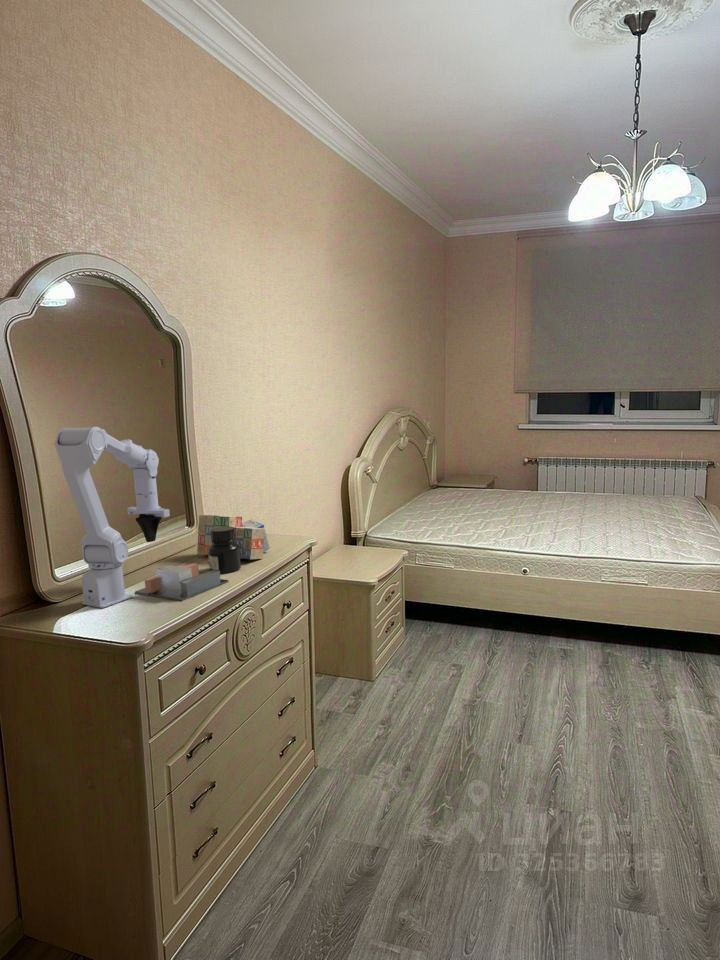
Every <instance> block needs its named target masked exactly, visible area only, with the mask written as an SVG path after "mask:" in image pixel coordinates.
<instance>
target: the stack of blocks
mask: <svg viewBox="0 0 720 960" xmlns="http://www.w3.org/2000/svg"><path fill="white" fill-rule="evenodd" d="M242 523H243V517H242V516H234V515H219V514H199V515H198V524H197V525H198V527H197V529H198V530H197V550H196V551H197V552H196V553H197V555H202V556H203V555H205V556H209V555H208V549H209V547H210V546H211V545H212V544H213V543H212V542H211V534H210V529H212V528H215V527H222V526H232V527H234V530H235V541H234V542H235V543H236V544H238V545H239V547H240V559H242V560H243V559H244V560H260V559H264V552H263V548H264V534H265V531H266V528H255V527H241V526H242Z"/></svg>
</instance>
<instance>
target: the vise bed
mask: <svg viewBox="0 0 720 960" xmlns="http://www.w3.org/2000/svg"><path fill="white" fill-rule="evenodd" d="M226 583H229V580H228V579H223V578H222V579H221V573H220V570H212V571H210V570H209V571H206V572H204V573H202V574H199V575H198V576H195V577H193V578H191V579H188V580H185V581H183V582H181V584H180V591H181V594H182V595H181V596H180V595H173V594H167V593H161V592H158V591H155V592H153V593H148V592H146V589H145V587H144V588H140V589H139V590H135V591H134V593H135V594H138V595H142V596H149V597H155V598H161V599H166V600H172V601H179V602H184V601H185V600H188V599H191V598H194V597H196V596H198V595H200V594H203V593H206V592H208V591H210V590H213V589H215V588H218V587H220V586H222V585H225V584H226Z"/></svg>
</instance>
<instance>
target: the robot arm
mask: <svg viewBox="0 0 720 960" xmlns="http://www.w3.org/2000/svg"><path fill="white" fill-rule="evenodd" d="M54 447H55V449H56V450H55V451H56V453H57V456H58V458H59V460H60V461H59V462H60V463H61V469H62V474H63V476H64V478H65V481H66V483H67V486H68V488H69V491H70V494H71V496H72V498H73V501H74V504H75V506H76V509H77V513H78V514H79V518H80V519H81V523H82V525H83V528H84V530H85V534H84V535H83V536H82V538H81V540H80V541H79V543H80V547H81V556H82V559H83V561H84V562H85V563H86V564H88V568H90V569H89V570H88V571H86V572H84V573H83V574H82V577H81V587H82V597H83V601H82V602H81V604H82V605H84V606H90V607H94V608H100V609H105V608H106V607H110V606H112V605H115V604H118V603H120V602H123V601H125V600H128V599H132V598H133V597H134V595H133V594H130V593H126V589H125V580H124V579H125V578H124V570H123V565H125V562H126V560H127V559H128V556H129V546H128V544H127V542H126V541H125V539H124V538H123V537H122V535H121V533H120V532H119V531H117V530H116V529H114V528H112V526H110V525H109V521H108V518H107V517H106V513H105V510H104V507H103V504H102V502H101V499H100V496H99V494H98V491H97V489H96V486H95V483H94V480H93V478H92V475H91V472H90V470H91V468H92V467H93V466H95V465H96V464H97V462H98V460H99V458H100V456H101V455H102V453H103V451H106V452H108V453H110V454H112V455H113V457H114V458H115V459H114V460H116V461H119V462H121V463H123V464H124V465H127V467H128V469H129V470H130V471H132V474H133V481H134V482H133V483H134V492H135V503H136V506H130V507H127V508H126V509H127V515H128V516H129V515H130V516H131V515H135V516H136V515H137V516H138V517H136V518H135V522H136V523H137V525H139V527H140V529H141V531H142V533H143V536H144V539H145V541H146V542H147V543H151V542H155V541H156V538H157V531H158V529H159V528H158V527H159V525H160V523H161V520H162V518H163V519H164V518H169V517H171V516H170V515H171V514H170V509H169V508H163V507H161V506H160V505H159V499H158V488H157V478H156V477H157V475H158V466H159V462H160V461H159V460H160V459H159V457H158V454H157V453H156V451H154V450H153V449H151V448H150V449H146V448H144V447H143V446H142V445H141V444H136V443H134V442H133V440H131V439H130V438H128V439H122V440H120V441H119V440H118V439H116V438H115V437H113V436H112V435H109V434H108V433H107V431H106V430H105V429H103V428H100V427H99V426H92V427H73V428H72V427H71V428H69V427H64V428H61V429H60V430H59V431H58V433H57V435H56V438H55V441H54Z"/></svg>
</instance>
